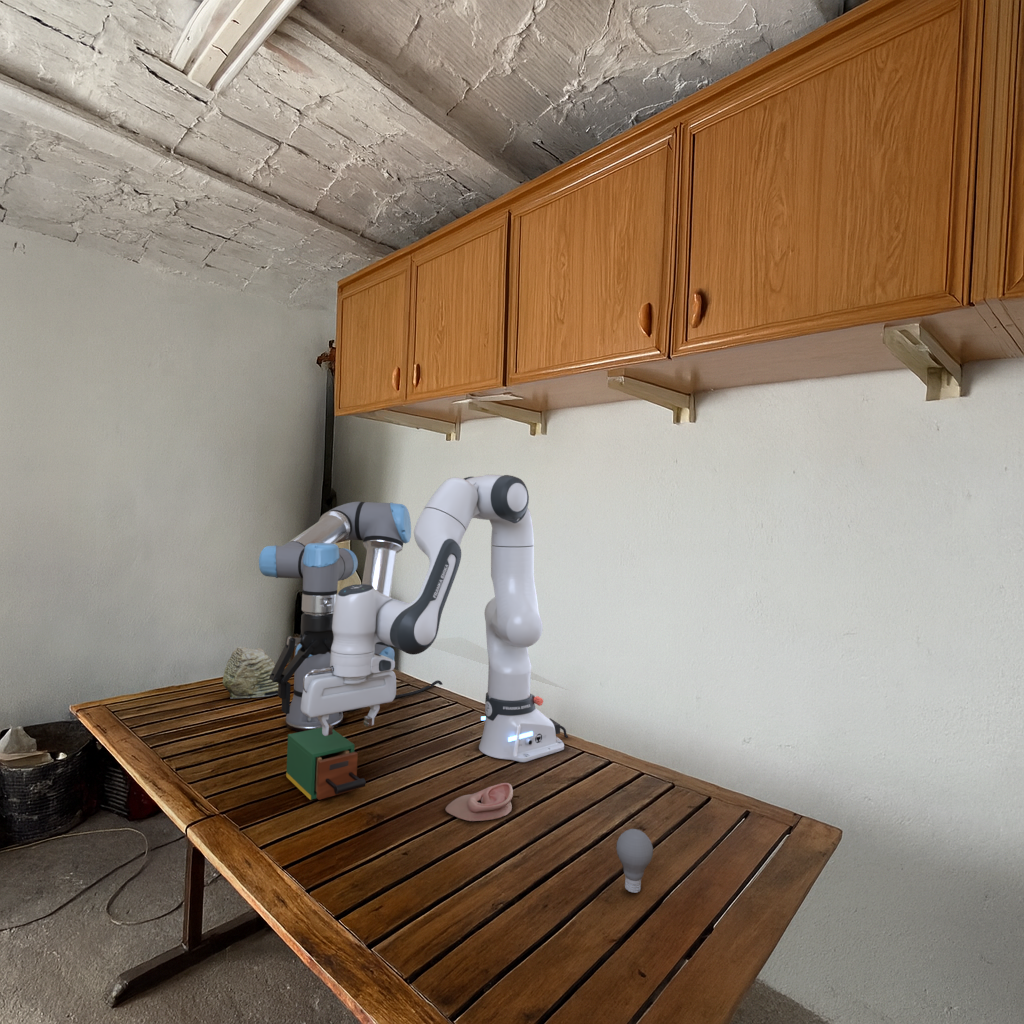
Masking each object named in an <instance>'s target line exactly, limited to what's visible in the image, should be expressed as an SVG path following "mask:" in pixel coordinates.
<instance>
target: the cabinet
mask: <svg viewBox="0 0 1024 1024" xmlns="http://www.w3.org/2000/svg"><path fill="white" fill-rule="evenodd" d="M332 731H333V734H332V735H328V736H324V735H323V734H322V727H321V728H317V729H312V730H307V731H302V732H301V731H296V732H293V733H289V734H287V746H286V747H287V748H286V749H287V751H286V772H285V776H286V778H287V780H289V781H290V782H291V783H292V784H293V785H294V786H295V787H296V788H297V789H298V790H299V791H300V792H302V794H303V795H304V796H306V798H307V799H309V801H312V800H315V799H317V798H316V797H317V792H316V791H314V787H315V762H316V757H319V756H323V755H328V754H332V753H336V752H340V751H344V750H348V751H349V753H352V752H355V749H356V748H355V745H356V744H354V743H353V742H352V741H350V740H349V739H348V738H346V737H345V736H343V735H342V734H341V733H339V732H338V731H336V730H335V729H333V730H332Z"/></svg>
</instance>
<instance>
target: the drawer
mask: <svg viewBox="0 0 1024 1024" xmlns="http://www.w3.org/2000/svg"><path fill="white" fill-rule="evenodd" d="M358 754H359V753H357V752H356V751H354V752H352V753H349V751H348V750H344V751H340V752H336V753H332V754H328V755H323V756H319V757H316V762H315V787H314V791H316V792H317V797H316V799H317V800H318V801H321V800H324V799H327V798H331V797H335V796H338V795H341V794H344V793H348V792H352V791H355V790H357V789H361V788H364V787H366V786H367V785H366V779H365V778H359V777H358V756H359V755H358Z"/></svg>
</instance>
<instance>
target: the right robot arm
mask: <svg viewBox="0 0 1024 1024" xmlns="http://www.w3.org/2000/svg"><path fill="white" fill-rule="evenodd" d="M529 503H530V496H529V490H528V488H527V486H526V484H525V482H524V481H523V480H522V479H521V478H519V477H517V476H514V475H511V474H510V475H509V474H504V475H501V474H484V475H477V476H466V477H464V478H462V477H456V476H454V477H448V478H447V479H445V480H444V481H443V482H442V483H441V484H440V485H439V486H438V488H437V489H436V490H435V491H434V492H433V494H432V495H431V497H430V498H429V500H428V501H427V503H426V504H425V506H424V508H423V509H422V511H421V513H420V515H419V516H418V518H417V521H416V522H415V525H414V529H413V536H414V541H415V543H416V545H417V547H418V548H419V550H421V552H423V554H424V555H426V556H427V557H428V560H429V562H428V563H429V565H428V569H427V572H426V574H425V576H424V579H423V582H422V585H421V587H420V590H419V592H418V594H417V596H416V598H415V599H414V600H413V601H411V602H407V601H403V600H401V599H397V598H393V597H392V596H391V597H388V596H386V595H384V594H382V593H380V592H378V591H377V590H376V589H375V588H374V587H373V586H371V585H368V584H362V583H359V584H350V585H347V586H345V587H343V588H341V589H340V590H339V591H337V597H336V600H335V604H334V610H333V620H332V631H333V643H332V646H331V656H330V667H325V668H321V669H312V670H311V671H310V672H309V673H307V674H306V675H305V676H304V679H303V694H302V700H301V711H302V712H303V713H304V714H305V715H306V716H308V717H310V718H313V717H318V719H319V721H320V723H321V725H322V734H323V735H324V736H328V735H332V734H333V731H332V730H334V728H333V726H331V725H330V724H328V723H327V721H326V720H328V719H329V714H333V713H338V712H349V711H348V710H353V709H356V710H359V709H364V708H367V707H369V708H370V709H369V711H368V713H367V715H365V716H363V725H364V726H365V727H367V728H368V727H372V726H374V725H375V718H376V716H377V714H378V713H379V711H380V709H381V708H380V707H381V705H383V704H388V703H389V704H390V703H392V702H393V701H394V700H395V699H396V698H395V696H396V695H397V676H396V673H395V671H394V670H395V667H396V661H395V659H394V660H392V659H390V658H388V657H385V656H383V655H379V654H376V653H374V652H375V644H376V643H377V642H383V643H385V644H388V645H389V646H390V647H395V649H397V650H400V651H401V652H403V653H404V654H405V653H406V654H407V655H412V656H413V655H419V654H422V653H423V652H425V651H426V650H428V649H429V648H430V647H431V646H432V645H433V643H434V642H435V640H436V638H437V636H438V634H439V628H440V622H441V619H442V614H443V611H444V608H445V605H446V603H447V599H448V597H449V595H450V592H451V590H452V587H453V584H454V581H455V579H456V576H457V573H458V570H459V567H460V564H461V559H462V549H461V544H462V540H463V538H464V536H465V533H466V532H467V530H468V528H469V525H470V523H471V522H472V519H477V520H483V521H489V522H490V525H491V536H490V537H491V539H490V577H491V581H492V586H493V591H494V597H493V598H491V599H490V600H489V601H488V602H487V603H486V605H485V608H484V621H485V636H486V647H487V649H486V650H487V659H488V671H487V673H488V675H487V692H486V693H485V702H484V704H485V705H484V716H480V720H481V721H484V725H483V726H484V727H483V731H482V734H481V738H480V741H479V744H478V749H479V751H480V752H481V753H482V754H484V755H486V756H489V757H491V758H493V759H494V758H495V759H500V760H509V761H510V760H511V761H515V762H519V763H527V762H530V761H533V760H536V759H539V758H543V757H546V756H549V755H552V754H556V753H559V752H562V751H564V750H565V743H564V742H563V740H562V739H561V738H560V737H558V736H557V735H560V734H561V730H562V732H563V736H564V738H565V739H568V738H569V735H568V734H567V730H566V727H564V726H562V725H561V724H560V723H558V722H557V721H555V719H552V718H551V717H550V718H549V717H547V715H545V714H544V713H542V711H541V710H539V709H538V708H537V707H536V705H537V706H539V707H540V706H542V705H543V704H544V699H543V698H542V697H541V696H538V695H536V696H535V695H534V694H533V693H531V683H532V682H531V679H532V662H531V658H530V654H529V647H531V646H533V645H535V644H536V643H537V642H538V641H539V640H540V638H541V637H542V634H543V631H544V624H543V620H542V618H541V614H540V608H539V601H538V594H537V593H538V592H537V588H536V582H535V581H536V580H535V535H534V526H533V518H532V514H531V513H532V512H531V510H530V508H528V507H529ZM309 674H311V675H309ZM394 698H395V699H394ZM358 708H359V709H358ZM353 711H354V710H353Z"/></svg>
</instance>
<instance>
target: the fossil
mask: <svg viewBox="0 0 1024 1024" xmlns="http://www.w3.org/2000/svg"><path fill="white" fill-rule="evenodd" d="M275 665H276V663H275V662H274V660H273V659H272V658H271V657H270V656H269V655H268V654H267V653H266V652H265V650H264V649H263V648H260V647H258V648H251V647H247V646H246V647H245V646H238V647H237V648H236V649H235V650H233V651H232V653H231V656H230V657H229V659H228V660H227V663H226V666H225V668H224V671H223V675H222V676H223V677H222V685H223V687H224V688H225V690H226V691H228V693H229V698H230V699H250V698H264V697H271V696H275V695H278V682H274V681H272V680H271V679H270V678H269V677H270V675H271V673H272V671H273V669H274V667H275Z"/></svg>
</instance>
